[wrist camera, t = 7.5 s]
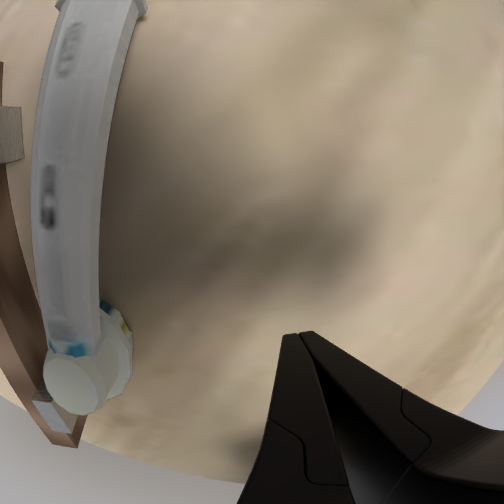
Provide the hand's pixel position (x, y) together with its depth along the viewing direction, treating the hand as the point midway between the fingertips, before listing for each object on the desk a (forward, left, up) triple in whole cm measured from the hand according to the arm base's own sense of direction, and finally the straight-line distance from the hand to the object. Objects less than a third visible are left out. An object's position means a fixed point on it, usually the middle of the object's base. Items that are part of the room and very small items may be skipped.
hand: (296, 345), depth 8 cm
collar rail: (0, +15, -9) cm, 18 cm away
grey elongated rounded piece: (+4, +8, -9) cm, 13 cm away
